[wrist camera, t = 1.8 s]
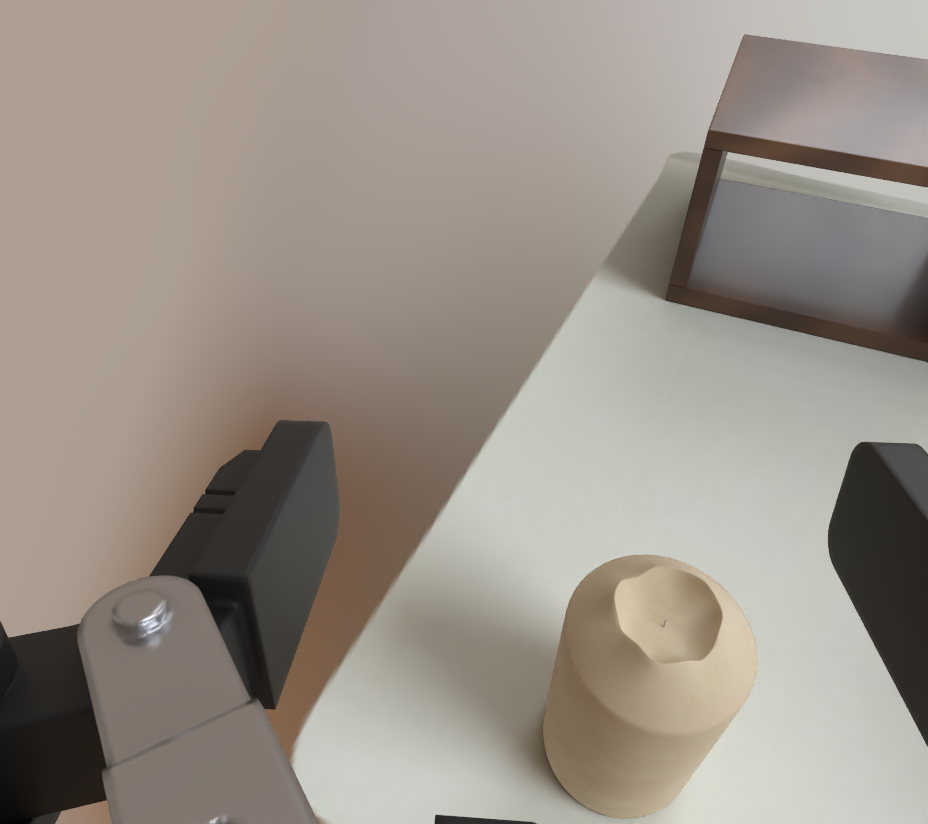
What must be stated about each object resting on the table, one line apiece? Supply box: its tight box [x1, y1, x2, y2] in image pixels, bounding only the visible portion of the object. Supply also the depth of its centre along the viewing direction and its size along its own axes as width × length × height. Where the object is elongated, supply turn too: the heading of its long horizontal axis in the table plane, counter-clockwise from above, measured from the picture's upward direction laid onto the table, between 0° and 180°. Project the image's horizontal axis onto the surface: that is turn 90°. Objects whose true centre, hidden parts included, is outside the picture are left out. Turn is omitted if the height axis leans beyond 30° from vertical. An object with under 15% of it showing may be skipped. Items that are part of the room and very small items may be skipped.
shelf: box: [665, 35, 928, 361], centre depth 44 cm, size 17×14×11 cm
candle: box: [543, 555, 758, 819], centre depth 24 cm, size 6×6×10 cm
